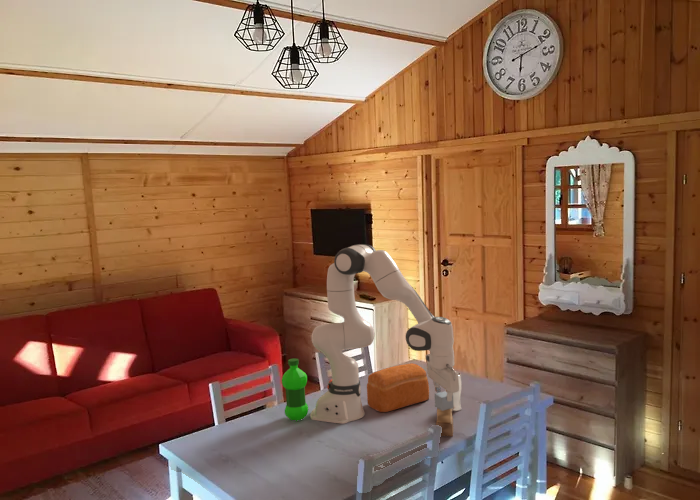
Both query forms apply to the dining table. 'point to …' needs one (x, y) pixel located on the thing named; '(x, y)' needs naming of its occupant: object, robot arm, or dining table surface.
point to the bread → (397, 387)
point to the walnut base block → (446, 428)
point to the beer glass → (457, 395)
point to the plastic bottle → (295, 391)
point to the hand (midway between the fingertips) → (443, 396)
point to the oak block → (444, 416)
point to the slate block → (443, 401)
